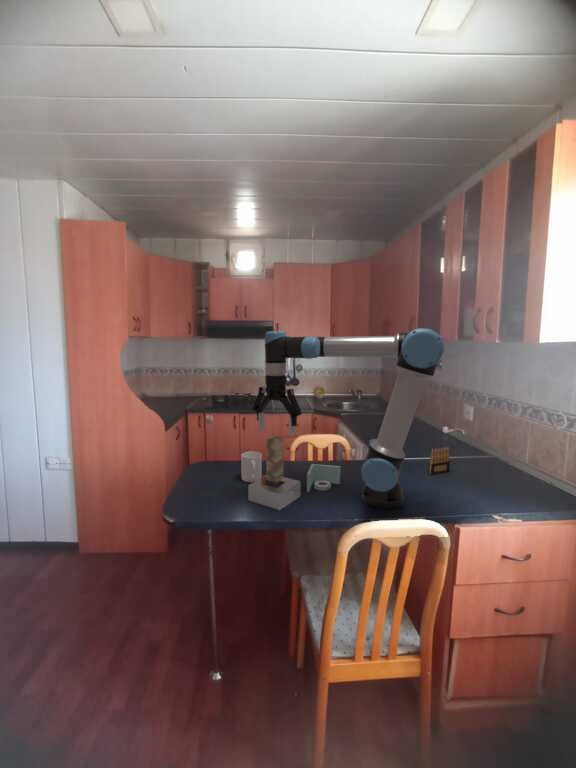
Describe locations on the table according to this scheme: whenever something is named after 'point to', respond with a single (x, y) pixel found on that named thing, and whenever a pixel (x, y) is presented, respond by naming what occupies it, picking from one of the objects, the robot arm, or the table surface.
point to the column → (275, 458)
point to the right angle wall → (323, 476)
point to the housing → (274, 492)
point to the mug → (251, 466)
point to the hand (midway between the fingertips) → (276, 432)
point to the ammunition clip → (439, 461)
